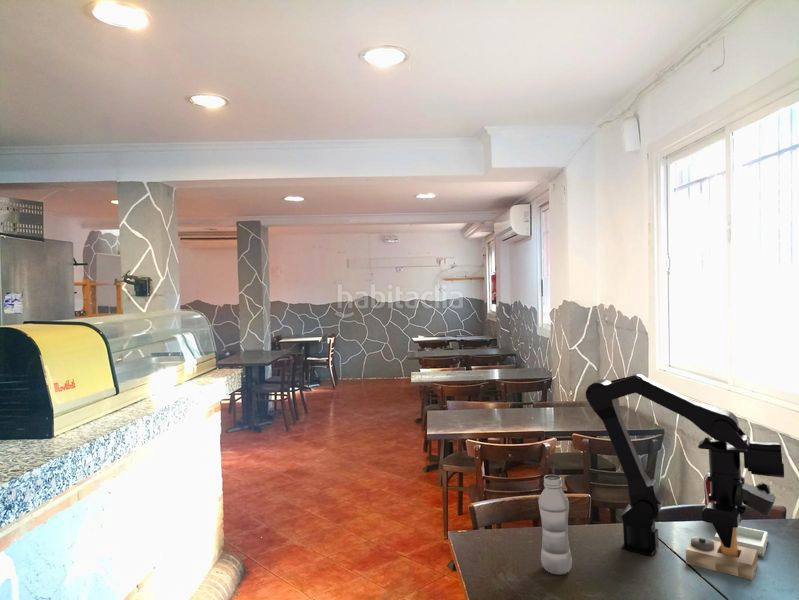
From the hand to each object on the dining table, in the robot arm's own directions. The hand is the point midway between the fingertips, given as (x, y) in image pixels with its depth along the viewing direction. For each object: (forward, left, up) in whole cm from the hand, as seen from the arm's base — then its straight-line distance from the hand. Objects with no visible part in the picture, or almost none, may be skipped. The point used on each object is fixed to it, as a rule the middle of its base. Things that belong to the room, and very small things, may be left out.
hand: (728, 544), depth 112 cm
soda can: (-5, +25, -5) cm, 26 cm away
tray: (+1, +13, -4) cm, 14 cm away
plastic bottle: (-28, -23, -5) cm, 37 cm away
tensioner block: (-1, 0, -4) cm, 5 cm away
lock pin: (0, 0, -4) cm, 4 cm away
